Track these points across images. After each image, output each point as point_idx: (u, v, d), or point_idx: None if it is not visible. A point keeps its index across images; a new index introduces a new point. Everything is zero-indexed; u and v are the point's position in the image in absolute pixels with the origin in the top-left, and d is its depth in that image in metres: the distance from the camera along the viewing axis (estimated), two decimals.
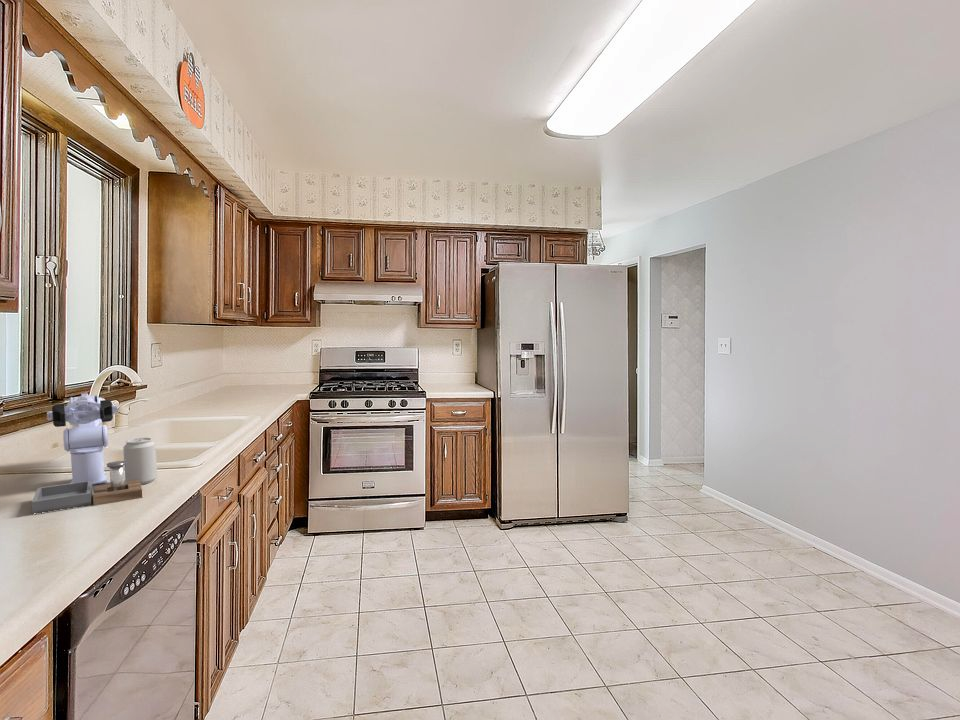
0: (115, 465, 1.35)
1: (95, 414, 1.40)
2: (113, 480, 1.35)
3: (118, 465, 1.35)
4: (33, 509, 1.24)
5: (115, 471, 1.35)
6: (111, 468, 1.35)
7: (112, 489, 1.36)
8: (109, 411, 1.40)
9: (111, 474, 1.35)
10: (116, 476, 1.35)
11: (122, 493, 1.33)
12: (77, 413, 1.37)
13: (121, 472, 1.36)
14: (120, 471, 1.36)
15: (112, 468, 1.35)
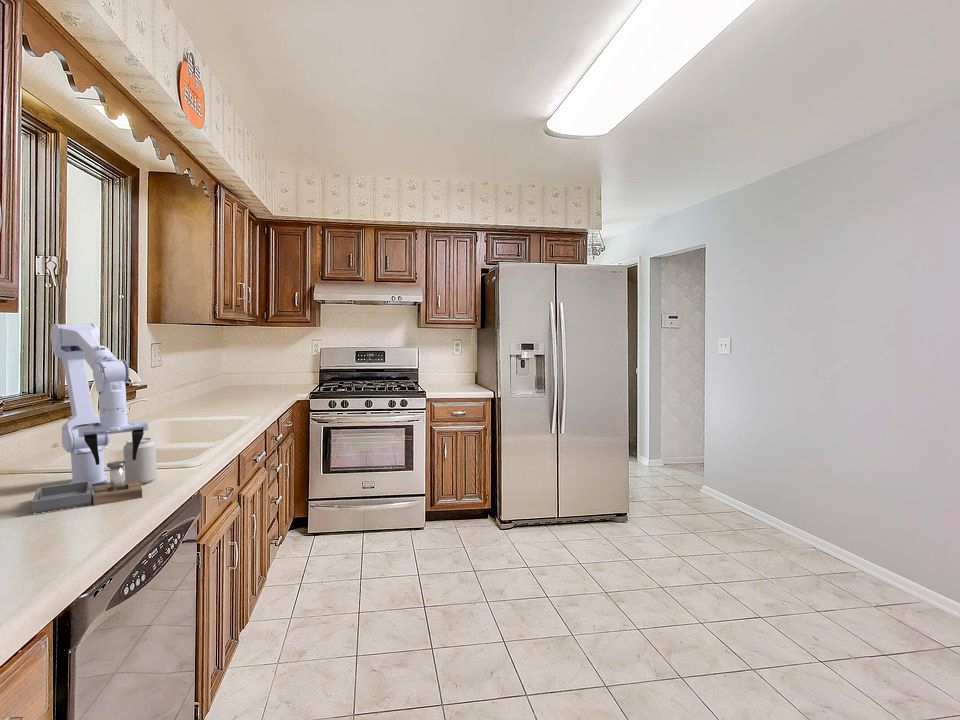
0: (115, 465, 1.35)
1: None
2: (113, 480, 1.35)
3: (118, 465, 1.35)
4: (33, 509, 1.24)
5: (115, 471, 1.35)
6: (111, 468, 1.35)
7: (112, 489, 1.36)
8: None
9: (111, 474, 1.35)
10: (116, 476, 1.35)
11: (122, 493, 1.33)
12: (108, 433, 1.35)
13: (121, 472, 1.36)
14: (120, 471, 1.36)
15: (112, 468, 1.35)
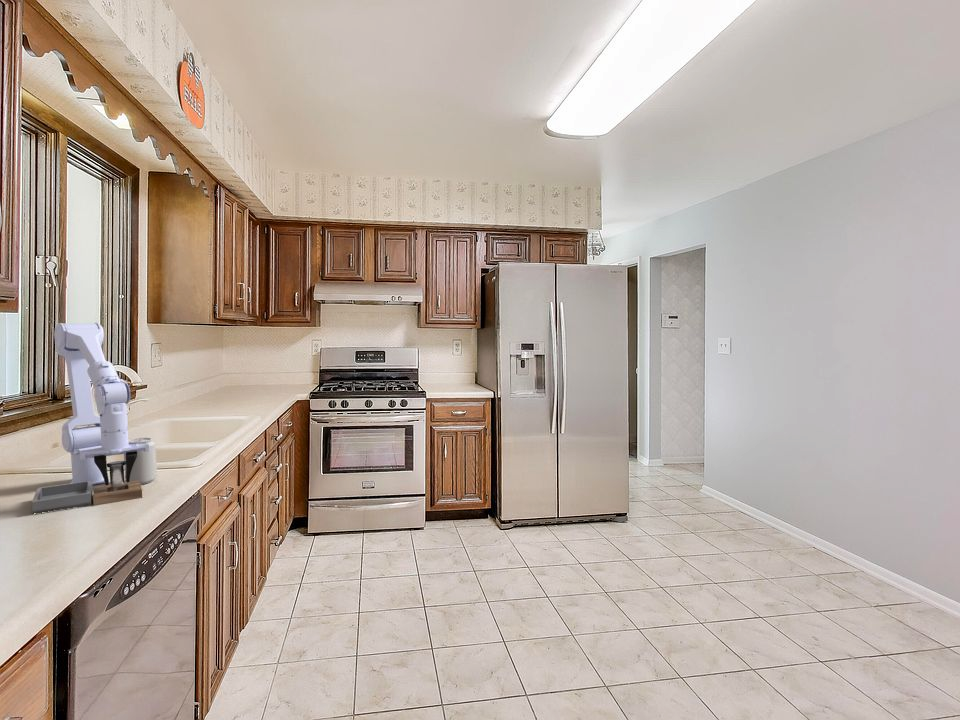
0: (115, 465, 1.35)
1: None
2: (113, 480, 1.35)
3: (118, 465, 1.35)
4: (33, 509, 1.24)
5: (115, 471, 1.35)
6: (111, 468, 1.35)
7: (112, 489, 1.36)
8: None
9: (111, 474, 1.35)
10: (116, 476, 1.35)
11: (122, 493, 1.33)
12: None
13: (121, 472, 1.36)
14: (120, 471, 1.36)
15: (112, 468, 1.35)
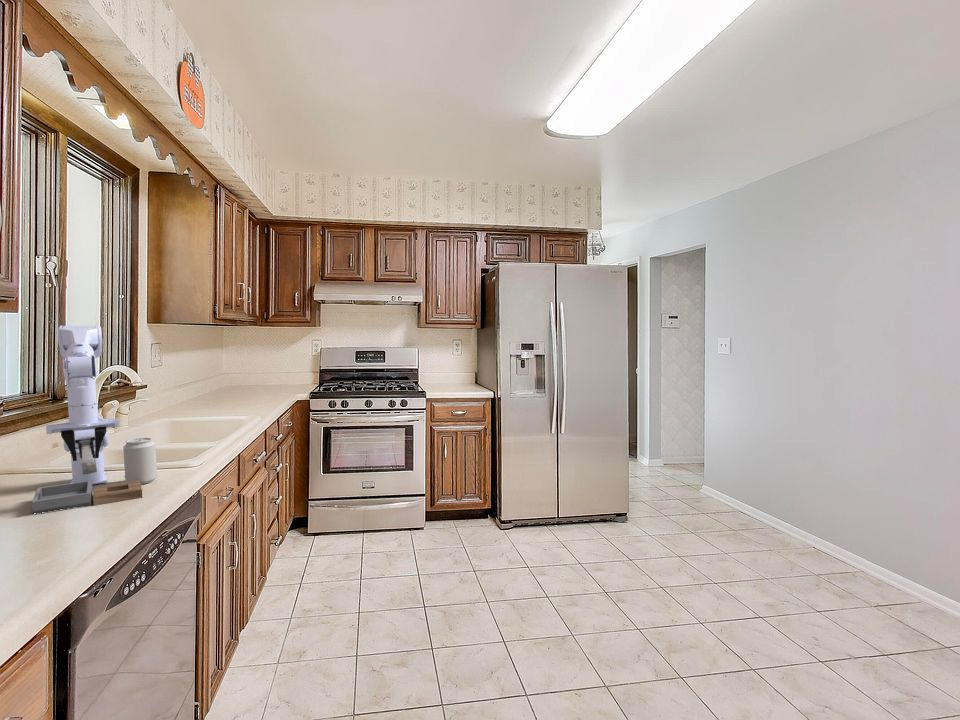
0: (83, 441, 1.32)
1: None
2: (83, 456, 1.32)
3: (87, 441, 1.32)
4: (33, 509, 1.24)
5: (84, 447, 1.32)
6: (80, 444, 1.32)
7: (83, 465, 1.33)
8: None
9: (80, 450, 1.32)
10: (85, 452, 1.32)
11: (122, 493, 1.33)
12: None
13: (91, 448, 1.33)
14: (90, 447, 1.33)
15: (81, 444, 1.32)
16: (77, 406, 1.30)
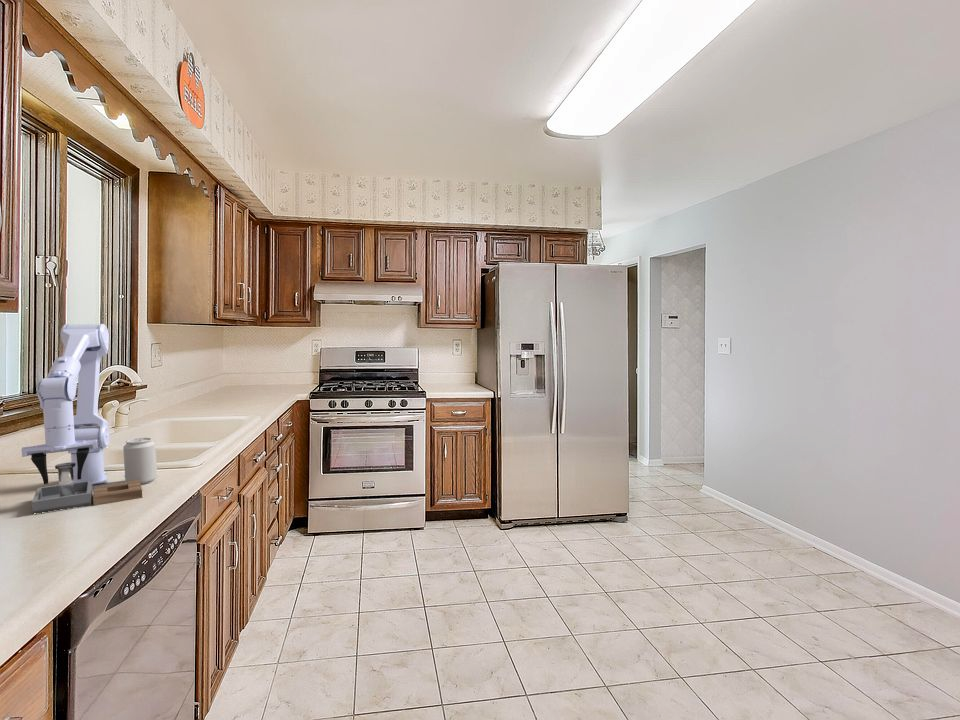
0: (63, 467, 1.31)
1: None
2: (62, 482, 1.31)
3: (67, 467, 1.31)
4: (33, 509, 1.24)
5: (63, 473, 1.31)
6: (59, 470, 1.31)
7: (61, 492, 1.31)
8: None
9: (59, 476, 1.31)
10: (64, 478, 1.31)
11: (122, 493, 1.33)
12: (54, 452, 1.31)
13: (70, 474, 1.32)
14: (69, 473, 1.32)
15: (60, 470, 1.31)
16: (53, 428, 1.28)
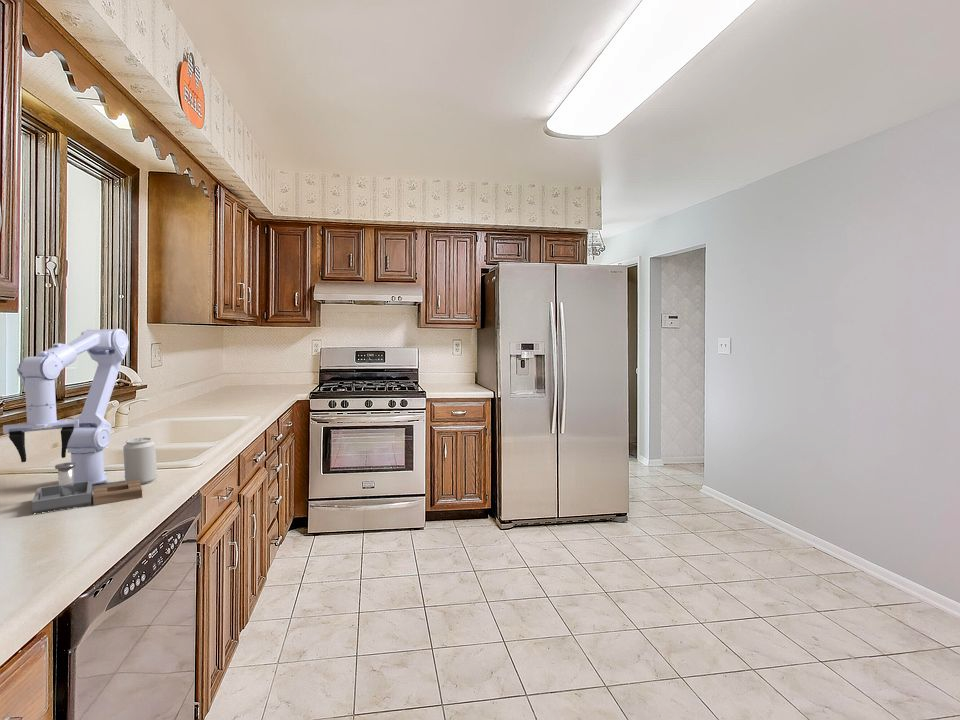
0: (63, 467, 1.31)
1: None
2: (62, 482, 1.31)
3: (67, 467, 1.31)
4: (33, 509, 1.24)
5: (63, 473, 1.31)
6: (59, 470, 1.31)
7: (60, 492, 1.31)
8: None
9: (59, 476, 1.31)
10: (64, 478, 1.31)
11: (122, 493, 1.33)
12: (36, 430, 1.32)
13: (70, 474, 1.32)
14: (69, 473, 1.32)
15: (60, 470, 1.31)
16: (34, 406, 1.30)
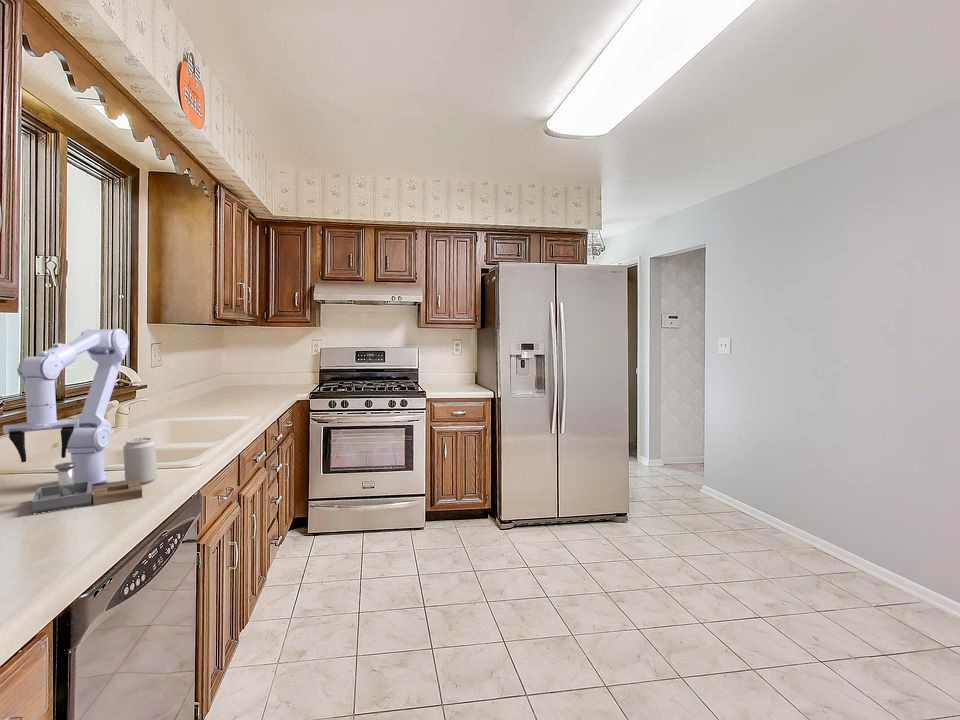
0: (63, 467, 1.31)
1: None
2: (62, 482, 1.31)
3: (67, 467, 1.31)
4: (33, 509, 1.24)
5: (63, 473, 1.31)
6: (59, 470, 1.31)
7: (60, 492, 1.31)
8: None
9: (59, 476, 1.31)
10: (64, 478, 1.31)
11: (122, 493, 1.33)
12: (36, 430, 1.32)
13: (70, 474, 1.32)
14: (69, 473, 1.32)
15: (60, 470, 1.31)
16: (34, 406, 1.30)
